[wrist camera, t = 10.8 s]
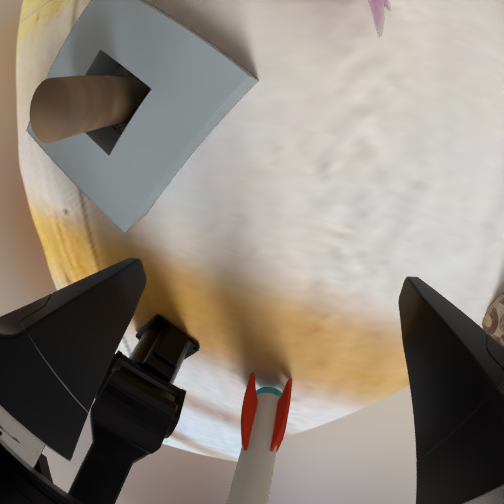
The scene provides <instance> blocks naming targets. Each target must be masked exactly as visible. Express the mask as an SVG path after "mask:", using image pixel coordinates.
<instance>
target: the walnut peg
mask: <svg viewBox="0 0 504 504" xmlns="http://www.w3.org/2000/svg"><path fill="white" fill-rule="evenodd" d="M149 92H150V91H149V87H148V85H146V84H145V83H144V82H143V81H141V80H140V79H139V78H137V77H136V76H127V75H85V76H66V77H54V78H48V79H46V80H44V81H43V82H42V83H41V84H40V85H39V86H38V87H37V89H36V91H35V93H34V95H33V98H32V101H31V106H30V122H31V127H32V130H33V132H34V134H35V136H36V137H37V138H38V139H39V140H40V141H41V142H43V143H52V142H55V141H58V140H61V139H64V138H68V137H71V136H74V135H78V134H81V133H85V132H88V131H92V130H96V129H99V128H103V127H107V126H112V125H116V124H120V123H125V122H130V120H131V119H132V117H133V115H134V114H135V112H136V111H137V109H138V108H139V106H140V105H141V103H142V102H143V101H144V99H145V98H146V96H147V95H148V93H149Z"/></svg>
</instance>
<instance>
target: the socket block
mask: <svg viewBox="0 0 504 504" xmlns="http://www.w3.org/2000/svg"><path fill="white" fill-rule="evenodd" d="M119 64H121V65H122V66H123V67H125V68H126V69H127V70H129V71H130V72H131V73H132V74H134V75H135V76H136V77H137V78H139V79H140V80H141V81H143V82H144V83H145V84H146V85H148V86H149V87H150V88H151V91H150V92H149V93H148V95H147V96H146V98H145V99H144V101H143V102H142V103H141V105H140V106H139V108H138V109H137V111H136V112H135V114H134V115H133V117H132V119H131V120H130V122H129V123H128V125H127V126H126V128H125V130H124V131H123V133H122V135H121V134H120V133H118V132H117V131H116V130H115V129H114V128H113V127H112V126H107V127H103V128H99V129H96V130H92V131H88V132H85V133H81V134H78V135H74V136H71V137H68V138H64V139H61V140H58V141H55V142H52V143H43V142H41V141H40V140H39V139H38V138H37V137H36V136H35V134H34V132H33V130H32V127H31V122H30V121H29V124H28V127H27V130H26V131H27V132H28V133H29V134H30V135H31V137H32V138H33V139H34V140H35V141H36V142H37V143H38V145H39V146H40V147H41V148H42V149H43V150H44V151H45V153H46V154H47V155H48V156H49V157H50V158H51V159H52V160H53V161H54V163H55V164H56V165H57V166H58V167H59V168H60V169H61V170H62V171H63V172H64V173H65V174H66V175H67V177H68V178H69V179H70V180H71V181H72V182H73V183H74V184H75V185H76V186H77V187H78V188H79V189H80V190H81V191H82V192H83V193H84V194H85V195H86V196H87V197H88V198H89V199H90V200H91V201H92V202H93V203H94V204H95V205H96V206H97V207H98V208H99V209H100V210H101V211H102V212H103V213H104V214H105V215H106V216H107V217H108V218H109V219H110V220H111V221H112V222H113V223H114V224H115V225H116V226H118V227H119V228H120V229H121V230H122V231H123V232H124V233H125V232H126V231H128V230H129V229H130V228H131V227H132V226H133V225H135V224H136V223H137V222H138V221H139V220H141V219H142V218H143V217H144V216H145V215H146V214H147V212H148V211H149V210H150V208H151V207H152V205H153V204H154V203H155V201H156V200H157V199H158V197H159V196H160V194H161V193H162V192H163V190H164V189H165V188H166V186H167V185H168V184H169V182H170V181H171V180H172V179H173V177H174V176H175V175H176V173H177V172H178V171H179V170H180V168H181V167H182V166H183V165H184V163H185V162H186V161H187V160H188V158H189V157H190V156H191V155H192V153H193V152H194V151H195V150H196V149H197V147H198V146H199V145H200V144H201V143H202V141H203V140H204V139H205V138H206V137H207V136H208V134H209V133H210V132H211V131H212V130H213V129H214V128H215V126H216V125H217V124H218V123H219V122H220V121H221V120H222V119H223V118H224V116H225V115H226V114H227V113H228V112H229V111H230V110H231V109H232V108H233V107H234V106H235V105H236V104H237V102H238V101H239V100H240V99H241V98H242V97H243V96H244V95H245V94H246V93H247V92H248V91H249V90H250V89H251V88H252V87H253V86H254V85H255V84H256V83H257V82H258V80H257V79H256V78H255V77H254V76H252V75H251V74H250V73H249V72H248V71H246V70H245V69H244V68H243V67H241V66H240V65H239V64H238V63H236V62H235V61H234V60H233V59H231V58H230V57H229V56H227V55H226V54H225V53H223V52H222V51H221V50H219V49H218V48H217V47H215V46H214V45H213V44H211V43H210V42H208V41H207V40H205V39H204V38H203V37H201V36H200V35H198V34H197V33H195V32H194V31H192V30H191V29H189V28H188V27H186V26H185V25H183V24H182V23H180V22H179V21H177V20H175V19H174V18H172V17H171V16H169V15H167V14H166V13H164V12H162V11H160V10H159V9H157V8H155V7H154V6H152V5H150V4H148V3H146V2H145V1H143V0H91V1H90V3H89V4H88V6H87V7H86V8H85V10H84V11H83V13H82V14H81V16H80V17H79V19H78V21H77V22H76V24H75V25H74V27H73V29H72V30H71V32H70V34H69V35H68V37H67V39H66V40H65V42H64V44H63V46H62V48H61V49H60V51H59V53H58V55H57V57H56V59H55V61H54V63H53V65H52V67H51V69H50V71H49V73H48V76H47V78H46V79H48V78H54V77H66V76H85V75H112V74H113V73H114V71H115V69H116V68H117V66H118V65H119Z"/></svg>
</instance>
